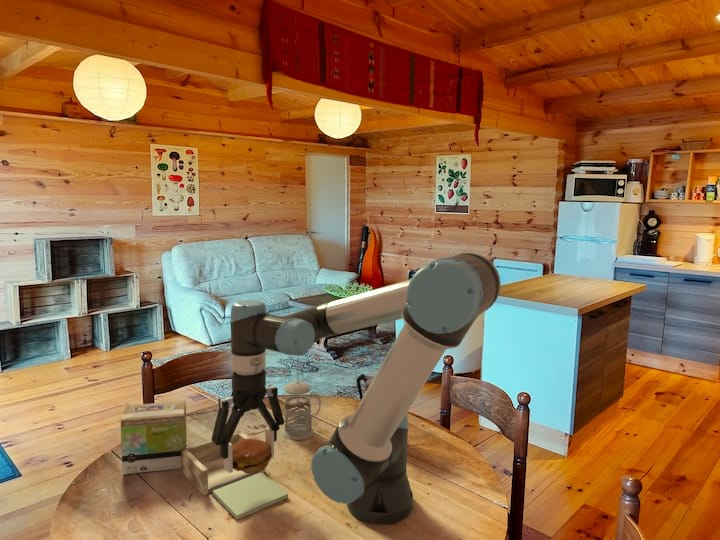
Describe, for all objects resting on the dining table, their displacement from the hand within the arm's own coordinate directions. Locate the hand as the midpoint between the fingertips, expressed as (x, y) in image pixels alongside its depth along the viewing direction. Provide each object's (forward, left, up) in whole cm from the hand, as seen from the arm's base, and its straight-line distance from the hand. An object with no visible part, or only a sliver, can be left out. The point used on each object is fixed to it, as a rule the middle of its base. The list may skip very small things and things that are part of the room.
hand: (249, 462), depth 119 cm
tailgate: (+1, 0, -8) cm, 8 cm away
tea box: (+29, +11, -9) cm, 32 cm away
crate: (+14, 0, -9) cm, 16 cm away
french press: (+20, -28, -9) cm, 35 cm away
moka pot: (+3, -43, -9) cm, 44 cm away
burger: (0, 0, 0) cm, 0 cm away
